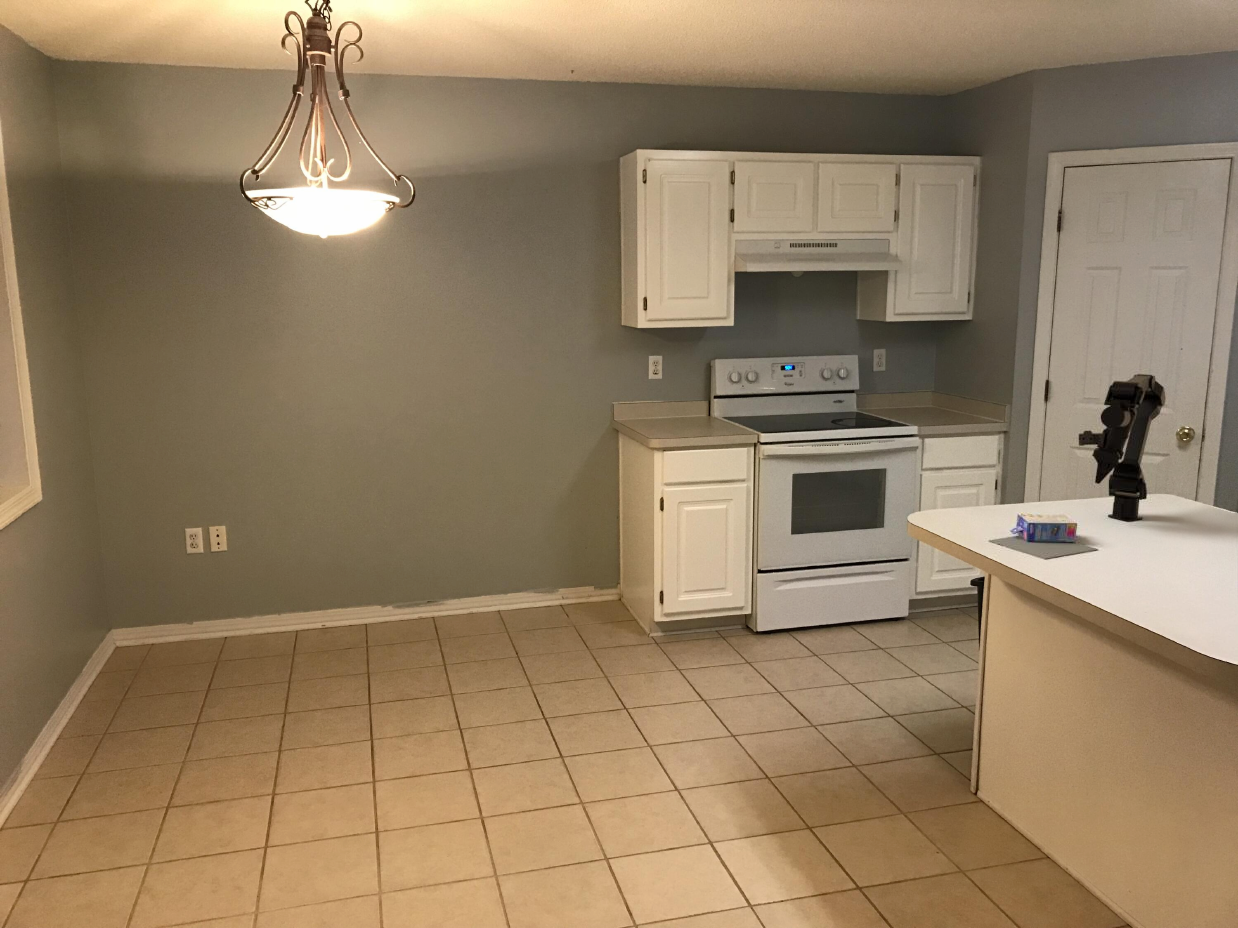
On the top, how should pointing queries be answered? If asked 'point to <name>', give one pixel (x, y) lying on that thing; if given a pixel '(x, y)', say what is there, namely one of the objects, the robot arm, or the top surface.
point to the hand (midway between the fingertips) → (1097, 483)
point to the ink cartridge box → (1046, 528)
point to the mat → (1043, 547)
